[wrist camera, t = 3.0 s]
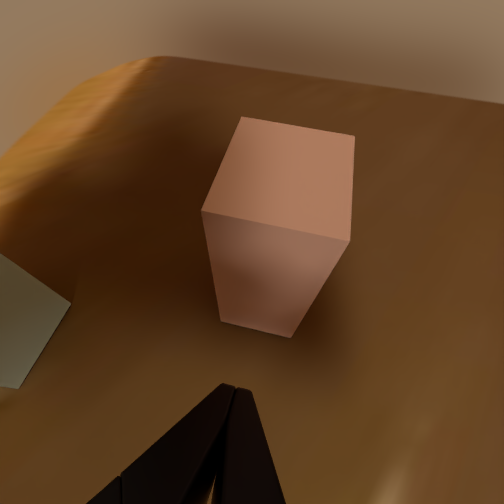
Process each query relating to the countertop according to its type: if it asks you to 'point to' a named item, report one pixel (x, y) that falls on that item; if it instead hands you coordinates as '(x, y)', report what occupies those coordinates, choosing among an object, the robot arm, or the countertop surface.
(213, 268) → the terracotta block
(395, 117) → the countertop surface
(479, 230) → the countertop surface
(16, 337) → the sage block
